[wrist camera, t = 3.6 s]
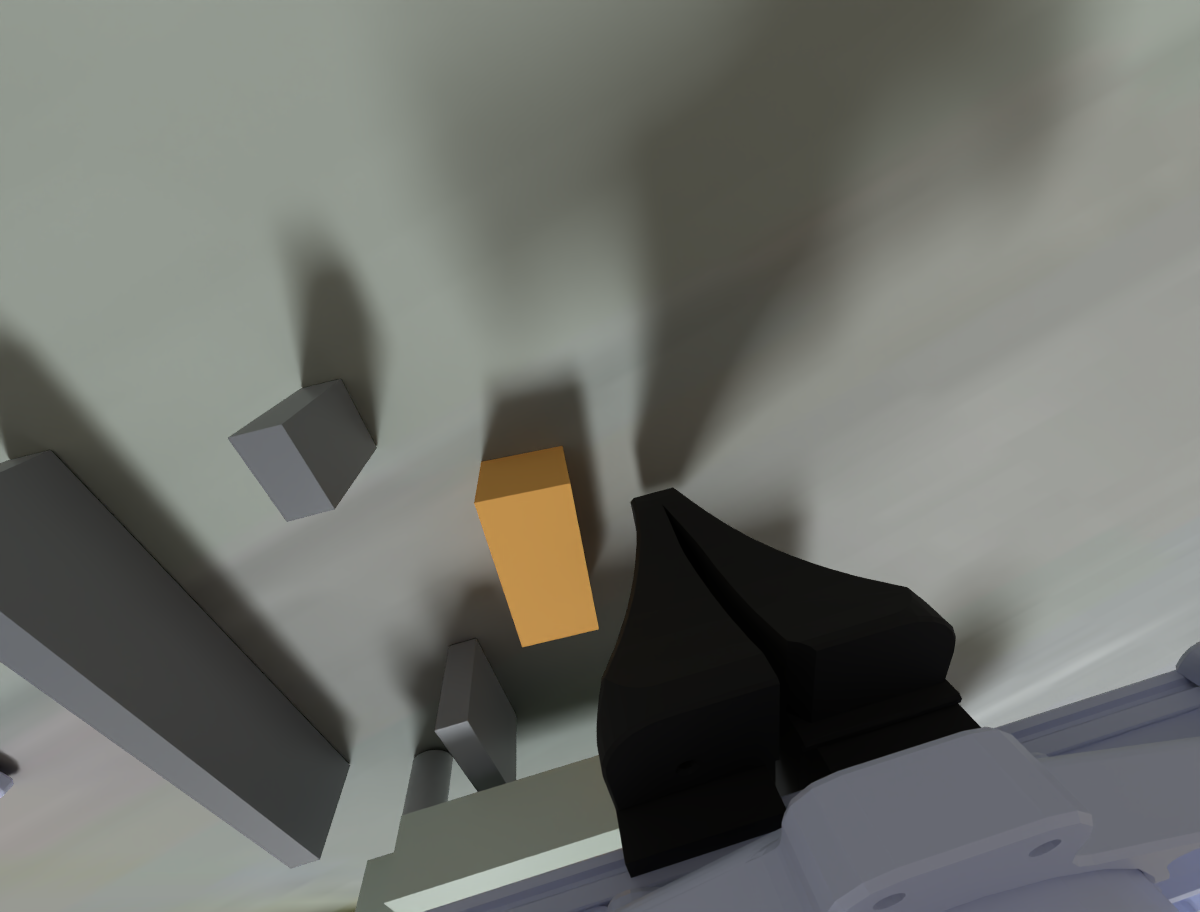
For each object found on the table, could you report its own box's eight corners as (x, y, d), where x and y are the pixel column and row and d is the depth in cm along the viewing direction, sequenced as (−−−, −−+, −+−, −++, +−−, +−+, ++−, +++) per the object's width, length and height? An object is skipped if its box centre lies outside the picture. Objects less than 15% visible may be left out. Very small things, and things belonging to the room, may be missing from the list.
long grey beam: (325, 772, 17) (290, 868, 15) (6, 460, 10) (-173, 537, 7) (516, 715, 18) (516, 799, 15) (340, 378, 11) (281, 424, 8)
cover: (372, 722, 16) (303, 948, 11) (740, 614, 17) (837, 777, 12) (440, 805, 20) (413, 1010, 14) (746, 712, 20) (824, 873, 15)
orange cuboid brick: (521, 590, 15) (522, 647, 13) (481, 458, 12) (474, 503, 10) (587, 575, 15) (598, 629, 13) (561, 443, 13) (570, 483, 11)
